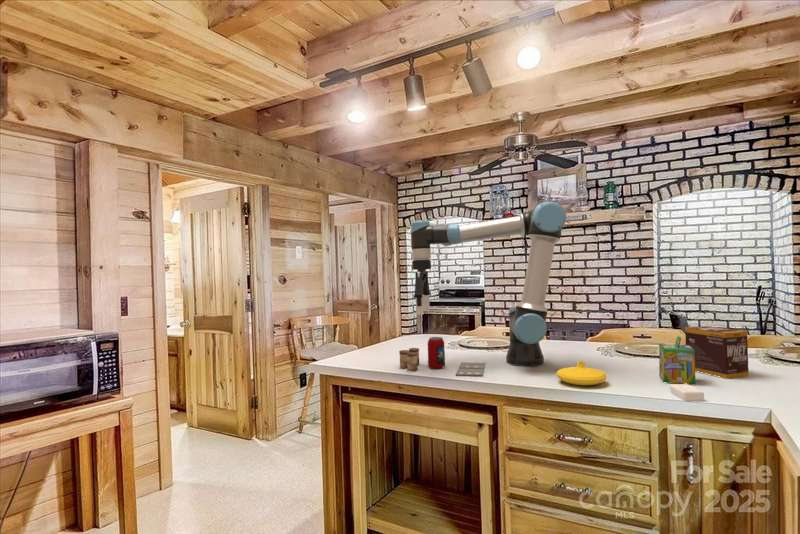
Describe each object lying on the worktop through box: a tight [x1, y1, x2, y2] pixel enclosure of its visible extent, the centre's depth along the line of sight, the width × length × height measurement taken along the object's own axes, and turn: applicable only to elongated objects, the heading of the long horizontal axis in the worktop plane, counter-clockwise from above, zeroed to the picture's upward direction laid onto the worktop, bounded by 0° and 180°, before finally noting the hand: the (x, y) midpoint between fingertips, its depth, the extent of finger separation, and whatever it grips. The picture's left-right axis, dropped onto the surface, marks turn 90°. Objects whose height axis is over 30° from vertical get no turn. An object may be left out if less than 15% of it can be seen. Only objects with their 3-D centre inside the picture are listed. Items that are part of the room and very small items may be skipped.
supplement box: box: [684, 325, 750, 379], centre depth 156 cm, size 10×15×16 cm
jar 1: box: [399, 349, 410, 370], centre depth 180 cm, size 4×4×7 cm
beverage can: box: [427, 336, 446, 370], centre depth 178 cm, size 7×7×12 cm
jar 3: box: [406, 352, 419, 372], centre depth 176 cm, size 4×4×7 cm
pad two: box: [458, 362, 486, 370], centre depth 178 cm, size 10×10×1 cm
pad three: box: [455, 367, 485, 378], centre depth 167 cm, size 10×10×1 cm
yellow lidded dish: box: [556, 361, 608, 386], centre depth 149 cm, size 16×16×7 cm
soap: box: [669, 383, 705, 402], centre depth 130 cm, size 9×6×3 cm, turn 173°
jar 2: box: [408, 347, 420, 367], centre depth 185 cm, size 4×4×7 cm
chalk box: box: [658, 335, 697, 385], centre depth 148 cm, size 9×9×15 cm
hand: (423, 312), depth 176 cm, fingers open, 13 cm apart
